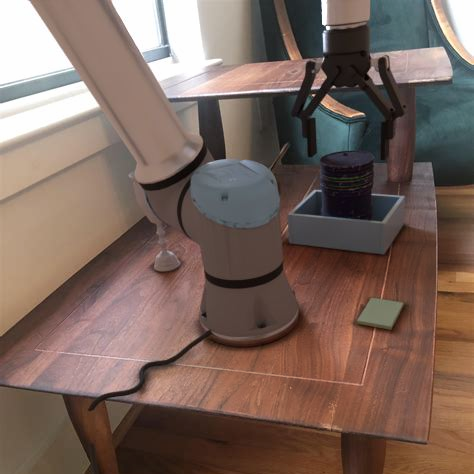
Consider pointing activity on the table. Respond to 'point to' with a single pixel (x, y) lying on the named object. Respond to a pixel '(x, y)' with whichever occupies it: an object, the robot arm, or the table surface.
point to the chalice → (164, 258)
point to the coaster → (380, 313)
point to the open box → (347, 225)
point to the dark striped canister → (347, 185)
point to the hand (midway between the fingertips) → (347, 156)
